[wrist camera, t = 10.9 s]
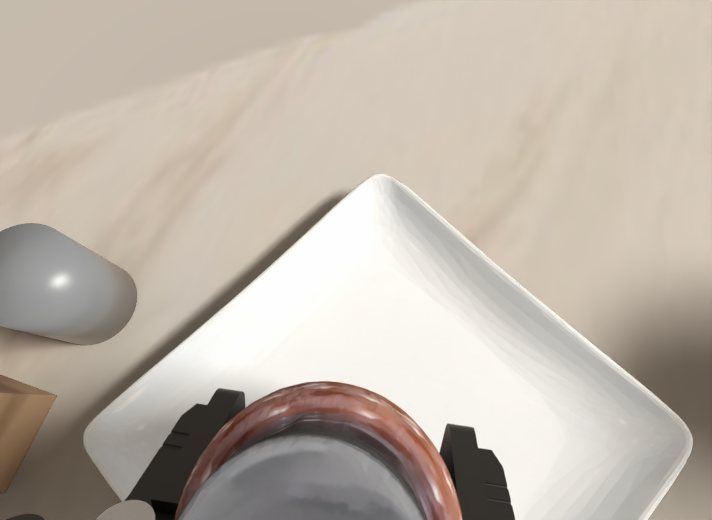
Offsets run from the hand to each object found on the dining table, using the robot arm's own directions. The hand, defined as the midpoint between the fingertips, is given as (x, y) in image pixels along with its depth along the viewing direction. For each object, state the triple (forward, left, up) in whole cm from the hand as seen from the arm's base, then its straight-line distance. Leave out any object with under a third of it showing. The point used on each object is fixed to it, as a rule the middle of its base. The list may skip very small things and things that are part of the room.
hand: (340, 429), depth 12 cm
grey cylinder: (-16, -4, -11) cm, 20 cm away
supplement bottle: (+1, -2, -5) cm, 5 cm away
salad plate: (+2, +1, -11) cm, 12 cm away
